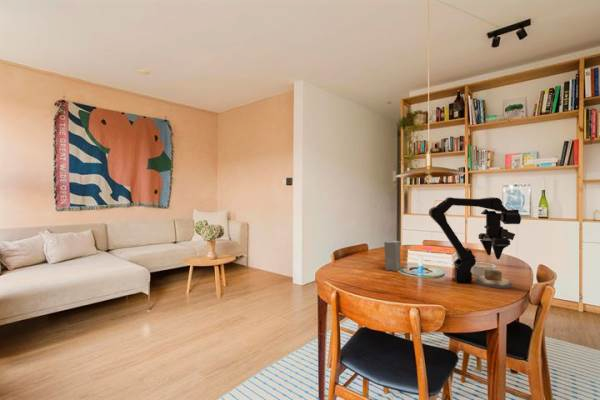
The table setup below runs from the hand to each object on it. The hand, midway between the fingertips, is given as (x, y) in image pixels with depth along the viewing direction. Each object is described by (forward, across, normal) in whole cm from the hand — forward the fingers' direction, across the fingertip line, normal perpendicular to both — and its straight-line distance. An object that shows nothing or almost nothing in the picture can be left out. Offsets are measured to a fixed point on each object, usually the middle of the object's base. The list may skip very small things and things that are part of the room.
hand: (493, 257), depth 141 cm
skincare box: (+12, +21, +43) cm, 50 cm away
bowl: (+12, +16, -2) cm, 20 cm away
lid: (+12, 0, 0) cm, 12 cm away
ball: (+10, +16, -2) cm, 19 cm away
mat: (+12, 0, 0) cm, 12 cm away
